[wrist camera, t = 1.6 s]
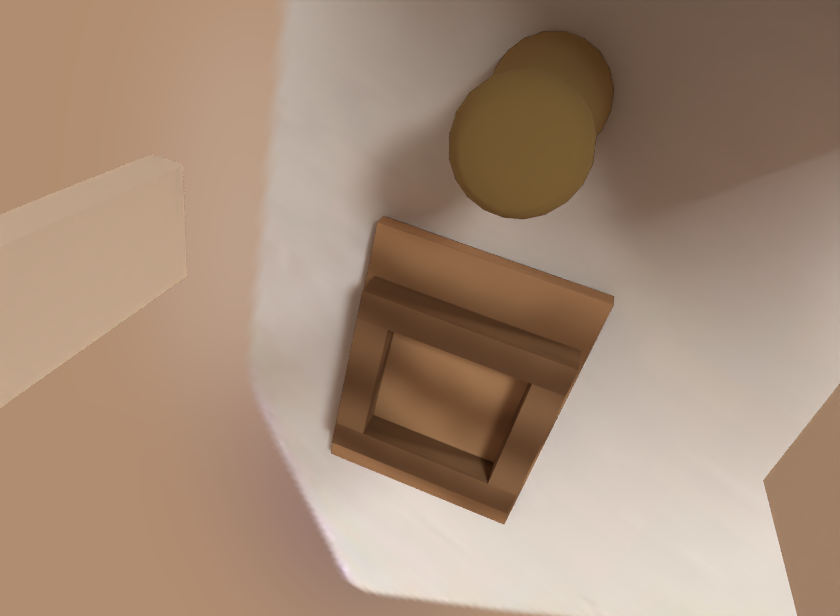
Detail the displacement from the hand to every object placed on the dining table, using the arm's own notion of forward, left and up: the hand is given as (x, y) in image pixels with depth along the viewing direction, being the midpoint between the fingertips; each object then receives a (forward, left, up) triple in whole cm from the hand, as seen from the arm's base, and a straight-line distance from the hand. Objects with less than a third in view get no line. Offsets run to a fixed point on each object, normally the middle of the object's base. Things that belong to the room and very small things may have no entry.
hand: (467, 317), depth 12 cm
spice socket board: (+19, -1, -21) cm, 28 cm away
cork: (0, -1, -21) cm, 21 cm away
